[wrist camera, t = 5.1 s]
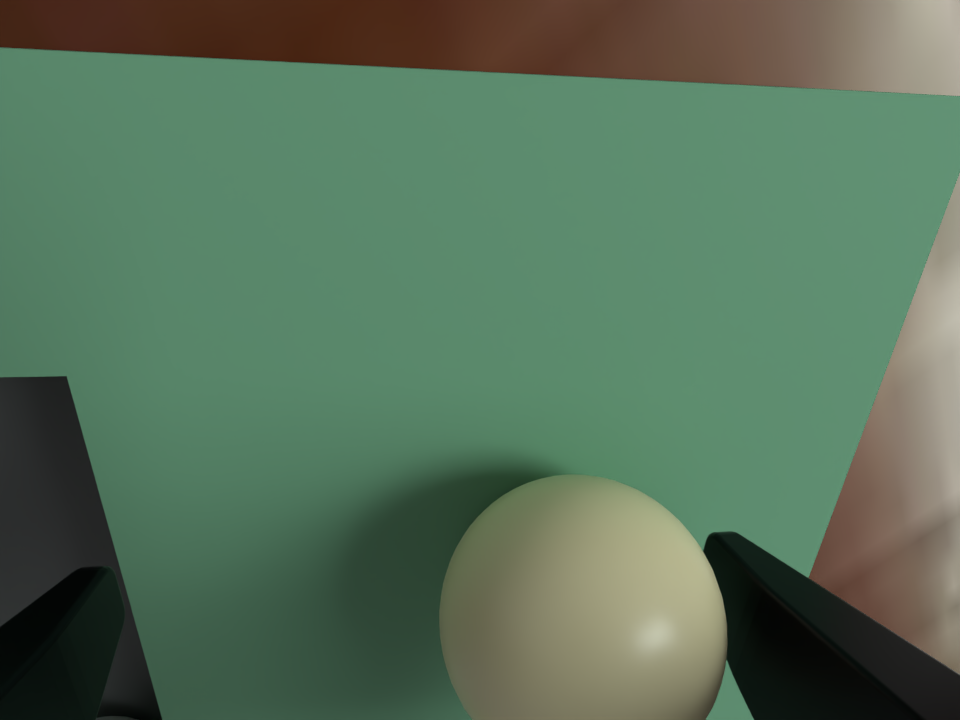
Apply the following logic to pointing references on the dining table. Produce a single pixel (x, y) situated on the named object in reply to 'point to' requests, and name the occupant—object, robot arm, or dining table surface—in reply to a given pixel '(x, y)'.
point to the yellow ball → (582, 608)
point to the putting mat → (418, 340)
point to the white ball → (115, 718)
